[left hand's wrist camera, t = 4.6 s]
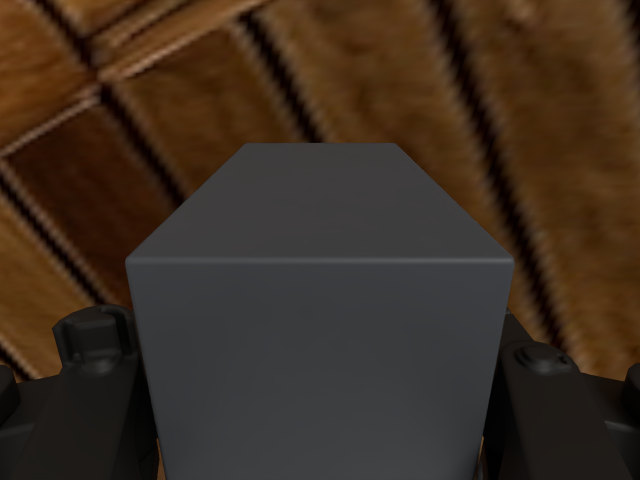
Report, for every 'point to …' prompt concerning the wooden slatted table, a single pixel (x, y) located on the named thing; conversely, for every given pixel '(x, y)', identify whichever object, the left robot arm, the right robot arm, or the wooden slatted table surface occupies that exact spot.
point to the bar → (320, 320)
